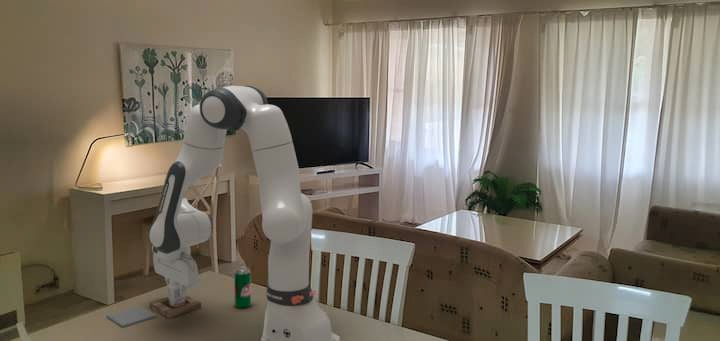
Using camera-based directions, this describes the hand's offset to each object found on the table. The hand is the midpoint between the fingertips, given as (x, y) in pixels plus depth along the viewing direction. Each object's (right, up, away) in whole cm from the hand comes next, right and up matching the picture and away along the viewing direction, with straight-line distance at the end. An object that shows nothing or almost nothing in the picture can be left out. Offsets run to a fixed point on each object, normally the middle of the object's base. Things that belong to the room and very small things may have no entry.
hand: (176, 293), depth 167 cm
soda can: (+19, -5, +4) cm, 20 cm away
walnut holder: (-1, -5, +1) cm, 5 cm away
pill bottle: (0, -4, +1) cm, 4 cm away
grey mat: (-11, -6, -7) cm, 14 cm away
